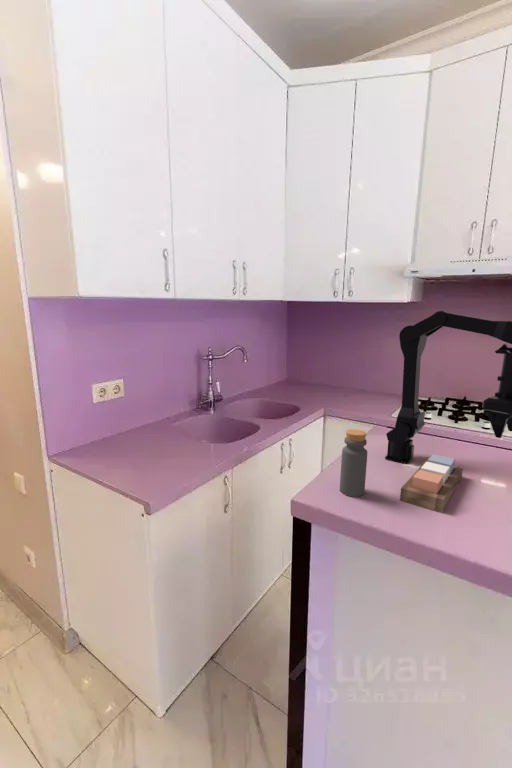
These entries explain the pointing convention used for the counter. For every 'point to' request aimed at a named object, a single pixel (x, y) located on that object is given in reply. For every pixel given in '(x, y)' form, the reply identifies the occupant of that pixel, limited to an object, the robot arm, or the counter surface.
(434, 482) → the button terracotta
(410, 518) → the counter surface
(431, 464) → the button cream
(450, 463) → the button slate
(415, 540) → the counter surface
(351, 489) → the bottle
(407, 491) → the wooden compartment tray
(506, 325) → the robot arm
